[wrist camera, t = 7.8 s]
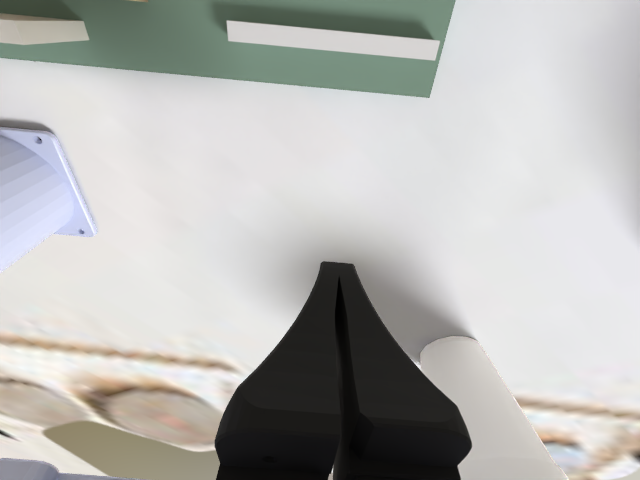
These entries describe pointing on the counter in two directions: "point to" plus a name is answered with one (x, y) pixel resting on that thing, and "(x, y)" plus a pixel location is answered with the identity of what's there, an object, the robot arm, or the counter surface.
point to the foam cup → (487, 414)
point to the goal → (39, 30)
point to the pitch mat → (254, 40)
